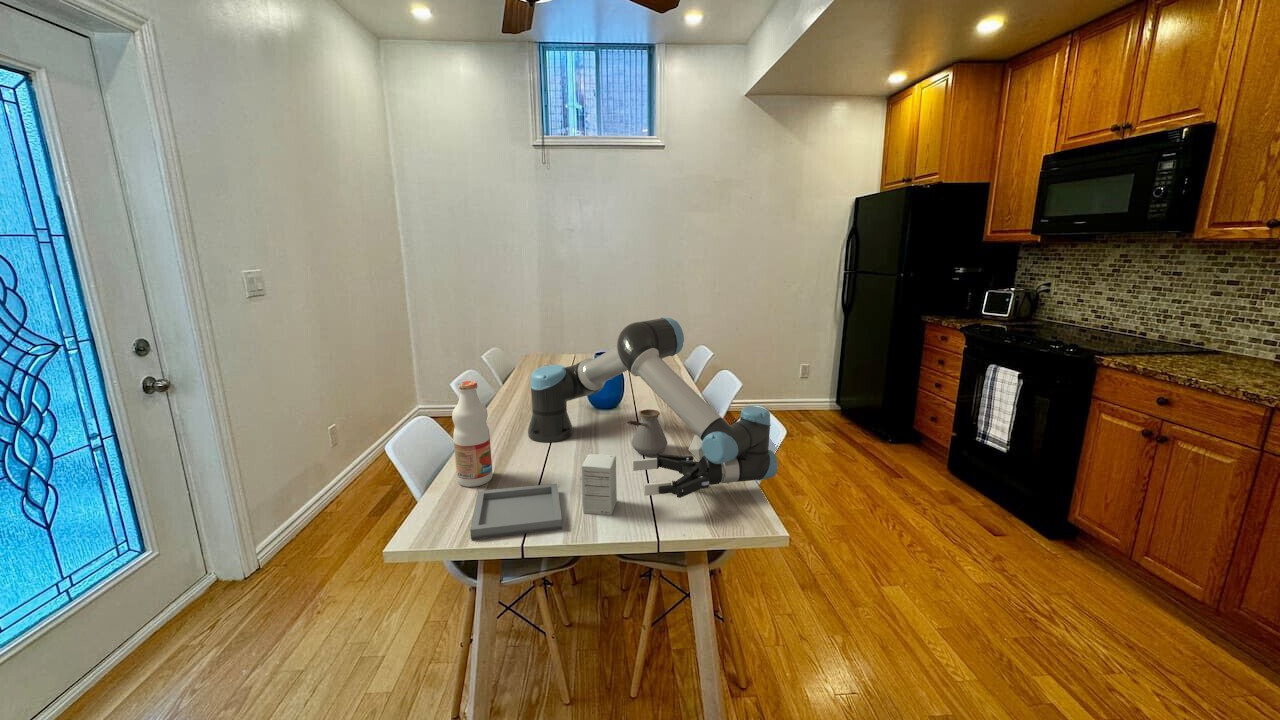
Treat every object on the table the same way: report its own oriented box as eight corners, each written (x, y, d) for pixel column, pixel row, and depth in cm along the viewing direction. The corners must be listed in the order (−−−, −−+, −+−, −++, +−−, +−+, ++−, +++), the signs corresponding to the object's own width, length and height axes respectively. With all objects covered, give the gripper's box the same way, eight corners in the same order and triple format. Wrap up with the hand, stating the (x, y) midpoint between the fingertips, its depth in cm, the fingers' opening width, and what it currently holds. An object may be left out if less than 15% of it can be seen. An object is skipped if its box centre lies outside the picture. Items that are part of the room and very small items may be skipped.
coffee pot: (640, 441, 165) (641, 398, 162) (672, 447, 160) (673, 403, 157) (609, 466, 147) (608, 418, 143) (644, 474, 142) (644, 425, 138)
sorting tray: (478, 500, 127) (478, 491, 127) (557, 492, 132) (557, 483, 131) (471, 539, 110) (470, 529, 110) (561, 529, 114) (561, 519, 114)
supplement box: (589, 498, 128) (588, 453, 125) (617, 500, 127) (616, 454, 124) (582, 513, 121) (580, 465, 118) (611, 515, 120) (611, 467, 117)
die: (706, 452, 158) (688, 430, 156) (727, 445, 153) (709, 422, 151) (697, 470, 152) (679, 447, 150) (719, 464, 147) (700, 440, 145)
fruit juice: (458, 474, 142) (450, 379, 135) (492, 470, 144) (486, 377, 138) (456, 489, 133) (446, 389, 126) (492, 485, 135) (485, 386, 129)
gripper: (736, 506, 118) (649, 516, 114) (701, 462, 142) (628, 469, 137) (738, 477, 116) (650, 486, 112) (702, 437, 140) (628, 444, 136)
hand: (638, 477), depth 125 cm, fingers open, 13 cm apart
